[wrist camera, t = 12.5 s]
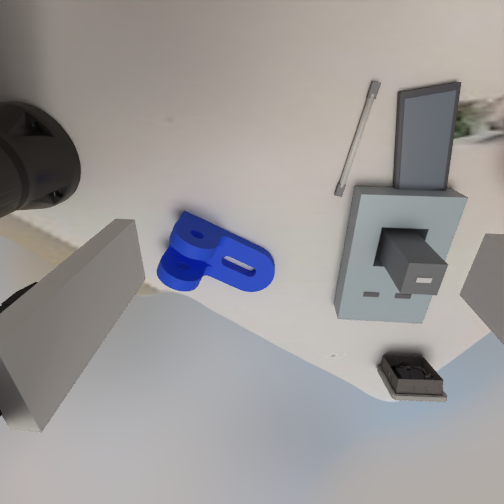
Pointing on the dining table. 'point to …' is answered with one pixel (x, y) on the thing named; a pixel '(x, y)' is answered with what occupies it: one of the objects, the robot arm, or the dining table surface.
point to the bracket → (212, 257)
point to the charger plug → (410, 261)
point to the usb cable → (358, 136)
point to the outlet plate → (366, 241)
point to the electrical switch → (411, 379)
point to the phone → (425, 137)
